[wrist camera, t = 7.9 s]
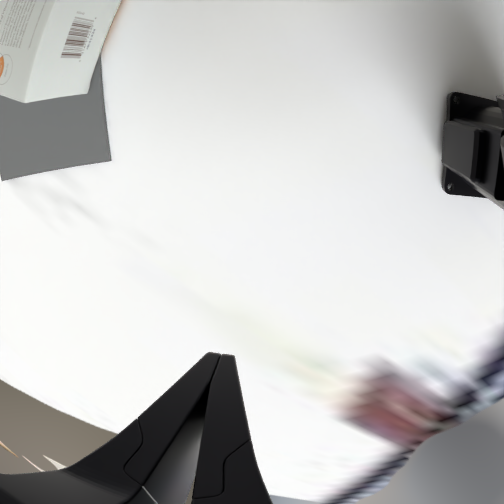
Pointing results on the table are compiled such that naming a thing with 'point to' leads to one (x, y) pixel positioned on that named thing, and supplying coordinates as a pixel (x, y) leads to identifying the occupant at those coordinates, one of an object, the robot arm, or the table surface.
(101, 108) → the mat
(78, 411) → the table surface
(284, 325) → the table surface
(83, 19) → the small box
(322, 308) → the table surface
